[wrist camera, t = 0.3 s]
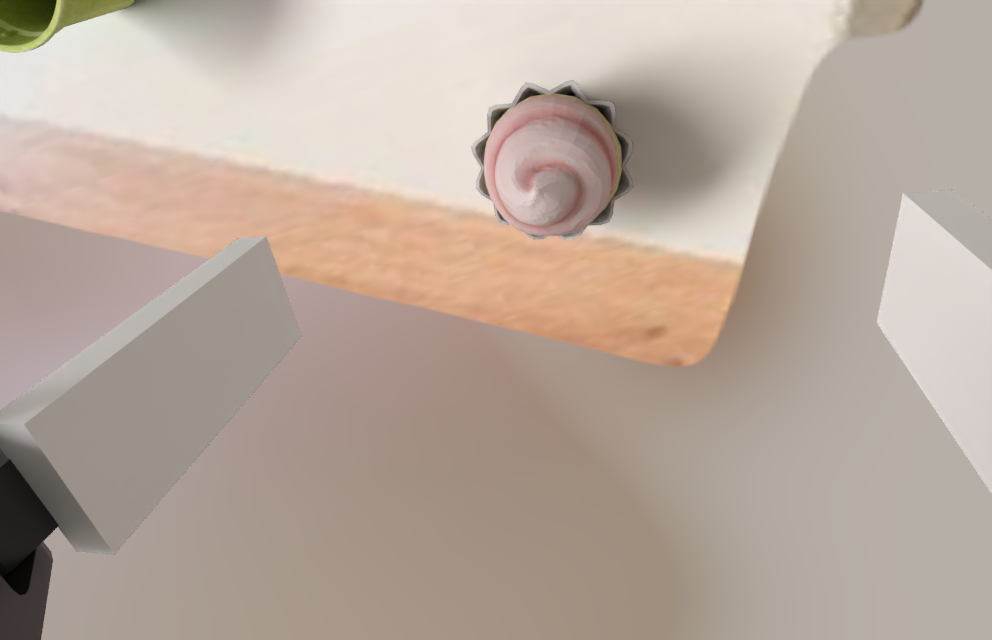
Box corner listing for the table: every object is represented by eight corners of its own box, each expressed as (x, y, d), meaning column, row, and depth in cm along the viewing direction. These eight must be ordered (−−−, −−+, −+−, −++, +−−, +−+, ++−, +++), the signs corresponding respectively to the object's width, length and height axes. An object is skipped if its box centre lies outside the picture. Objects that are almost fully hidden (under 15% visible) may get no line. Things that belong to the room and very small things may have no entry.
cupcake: (614, 42, 34) (608, 68, 26) (648, 192, 38) (653, 258, 30) (467, 93, 37) (419, 131, 29) (513, 227, 41) (483, 295, 33)
